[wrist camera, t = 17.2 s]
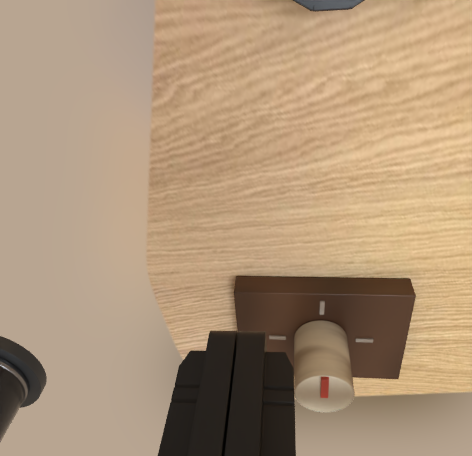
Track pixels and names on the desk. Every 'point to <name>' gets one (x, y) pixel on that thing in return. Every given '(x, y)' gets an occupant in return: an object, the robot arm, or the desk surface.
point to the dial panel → (332, 315)
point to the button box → (328, 4)
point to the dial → (322, 367)
